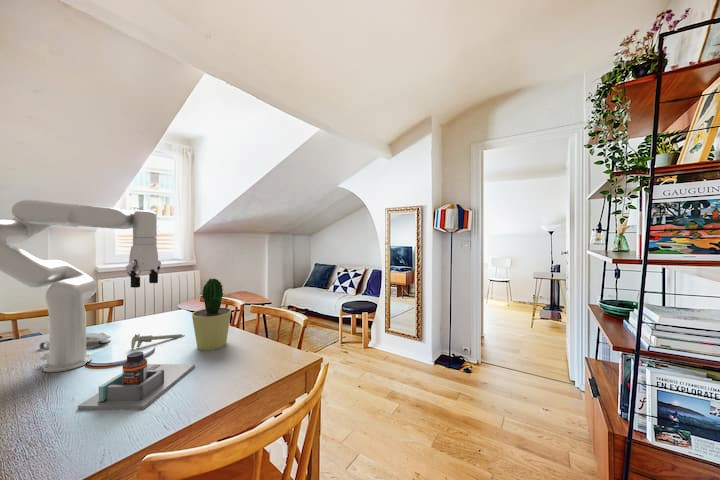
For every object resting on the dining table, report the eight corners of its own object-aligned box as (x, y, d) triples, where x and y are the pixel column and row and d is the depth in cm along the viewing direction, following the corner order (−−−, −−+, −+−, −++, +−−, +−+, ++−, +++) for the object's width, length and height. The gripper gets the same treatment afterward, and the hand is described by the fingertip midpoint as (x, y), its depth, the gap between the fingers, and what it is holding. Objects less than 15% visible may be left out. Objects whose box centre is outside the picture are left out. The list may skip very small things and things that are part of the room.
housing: (77, 409, 79) (77, 391, 79) (145, 366, 104) (145, 353, 104) (143, 409, 79) (143, 391, 79) (195, 366, 105) (195, 353, 104)
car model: (63, 340, 129) (63, 329, 129) (118, 340, 130) (118, 329, 130) (36, 350, 118) (36, 338, 118) (96, 350, 119) (96, 338, 119)
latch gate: (98, 400, 80) (98, 386, 80) (134, 377, 93) (134, 365, 93) (103, 400, 80) (103, 386, 80) (138, 377, 93) (137, 365, 93)
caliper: (132, 350, 119) (132, 335, 119) (131, 349, 120) (131, 334, 120) (184, 336, 136) (184, 323, 136) (183, 336, 137) (183, 323, 136)
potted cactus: (187, 344, 125) (187, 276, 125) (224, 336, 136) (225, 273, 135) (196, 355, 114) (196, 281, 114) (236, 346, 124) (236, 277, 124)
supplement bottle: (119, 398, 82) (119, 359, 82) (125, 388, 88) (125, 352, 88) (145, 393, 85) (145, 355, 85) (148, 384, 90) (148, 348, 90)
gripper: (151, 241, 121) (150, 281, 122) (117, 242, 104) (117, 289, 104) (168, 241, 121) (168, 281, 122) (137, 242, 104) (137, 289, 104)
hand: (144, 285), depth 113 cm, fingers open, 9 cm apart
